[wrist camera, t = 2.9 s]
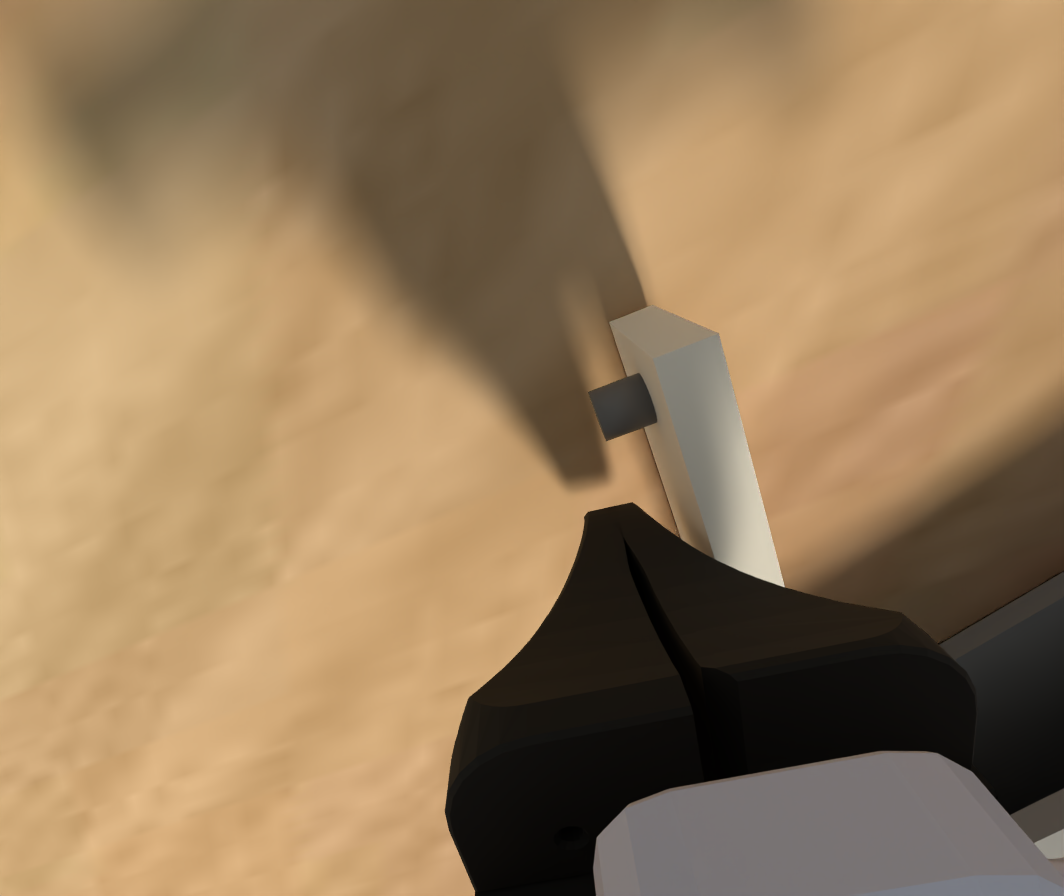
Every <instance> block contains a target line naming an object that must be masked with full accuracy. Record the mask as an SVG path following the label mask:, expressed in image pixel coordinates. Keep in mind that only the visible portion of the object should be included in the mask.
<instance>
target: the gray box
mask: <svg viewBox="0 0 1064 896" xmlns="http://www.w3.org/2000/svg"><path fill="white" fill-rule="evenodd" d="M940 646H941V647H942V648H943V649H944V650H945V651H946V652H947V653H948V654H949V655H950V656H951V657H952V658H953V659H954V660H955V661H956V662H957V663H958V664H959V665H960V666H961V667H962V668H963V669H964V670H966V671H967V673H968V675H969V677H970V679H971V681H972V683H973V685H974V686H975V688H976V694H977V706H978V712H977V722H976V733H975V743H974V753H973V763H972V764H973V765H974V766H975V767H976V769H977V770H978V771H979V772H980V773H981V774H982V775H983V777H984V778H985V779H986V780H987V781H988V782H989V783H990V785H991V786H992V787H993V788H994V790H995V792H996V794H997V796H998V798H997V801H998V802H999V803H1000V805H1001V806H1002V807H1003V808H1004V809H1005V810H1006V812H1007V813H1008V814H1009V815H1010V816H1011V817H1012V819H1013V820H1014V821H1015V822H1016V823H1017V824H1018V826H1019V827H1020V828H1021V829H1022V830H1023V831H1024V832H1025V834H1026V835H1027V836H1028V837H1029V838H1030V839H1031V841H1032V842H1033V843H1034V844H1035V845H1036V846H1037V848H1038V849H1039V850H1040V851H1041V852H1042V853H1043V855H1044V856H1045V857H1046V858H1047V859H1056V858H1063V857H1064V572H1062V573H1061V574H1059V575H1057V576H1056V577H1054V578H1052V579H1050V580H1049V581H1047V582H1045V583H1044V584H1042V585H1040V586H1038V587H1037V588H1035V589H1033V590H1032V591H1030V592H1028V593H1027V594H1025V595H1023V596H1021V597H1020V598H1018V599H1016V600H1015V601H1013V602H1011V603H1010V604H1008V605H1006V606H1004V607H1003V608H1001V609H999V610H998V611H996V612H994V613H992V614H991V615H989V616H987V617H986V618H984V619H982V620H981V621H979V622H977V623H975V624H974V625H972V626H970V627H969V628H967V629H965V630H963V631H962V632H960V633H958V634H957V635H955V636H953V637H952V638H950V639H948V640H946V641H945V642H943V643H941V644H940Z"/></svg>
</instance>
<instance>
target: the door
mask: <svg viewBox="0 0 1064 896" xmlns="http://www.w3.org/2000/svg"><path fill="white" fill-rule="evenodd" d="M609 324H610V327H611V330H612V333H613V336H614V339H615V342H616V345H617V348H618V351H619V354H620V357H621V360H622V363H623V366H624V369H625V372H626V375H627V377H626V378H623V379H621V380H618V381H616V382H613V383H610V384H608V385H605V386H602V387H600V388H597V389H595V390H592V391H589V392H588V394H589V397H590V400H591V402H592V405H593V408H594V411H595V414H596V416H597V419H598V422H599V424H600V427H601V429H602V432H603V434H604V437H605V439H606V441H608V440H611V439H614V438H616V437H619V436H622V435H625V434H627V433H630V432H633V431H635V430H638V429H641V428H644V429H645V432H646V435H647V438H648V441H649V444H650V447H651V450H652V453H653V456H654V459H655V462H656V465H657V468H658V471H659V474H660V477H661V480H662V483H663V486H664V489H665V492H666V495H667V498H668V501H669V504H670V507H671V510H672V513H673V516H674V519H675V522H676V525H677V528H678V531H679V534H680V537H681V539H682V540H683V541H685V542H686V543H688V544H689V545H691V546H692V547H694V548H696V549H697V550H699V551H701V552H703V553H704V554H706V555H708V556H710V557H712V558H714V559H716V560H717V561H720V562H722V563H724V564H726V565H728V566H730V567H733V568H735V569H737V570H739V571H741V572H744V573H746V574H749V575H751V576H754V577H756V578H759V579H762V580H765V581H768V582H771V583H773V584H776V585H779V586H782V587H785V586H784V582H783V578H782V575H781V571H780V567H779V563H778V559H777V555H776V551H775V548H774V544H773V540H772V536H771V532H770V528H769V525H768V521H767V517H766V513H765V509H764V505H763V502H762V498H761V494H760V490H759V486H758V482H757V479H756V475H755V471H754V467H753V463H752V459H751V455H750V452H749V448H748V444H747V440H746V436H745V432H744V429H743V425H742V421H741V417H740V413H739V409H738V406H737V402H736V398H735V394H734V390H733V386H732V383H731V379H730V375H729V371H728V367H727V363H726V359H725V356H724V352H723V348H722V344H721V340H720V336H719V333H716V332H714V331H712V330H710V329H707V328H705V327H703V326H700V325H698V324H696V323H693V322H691V321H689V320H686V319H684V318H682V317H679V316H677V315H675V314H673V313H670V312H668V311H666V310H663V309H661V308H659V307H656V306H654V305H651V306H648V307H646V308H643V309H641V310H638V311H636V312H633V313H631V314H628V315H626V316H623V317H621V318H618V319H615V320H613V321H610V322H609Z"/></svg>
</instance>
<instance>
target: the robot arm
mask: <svg viewBox="0 0 1064 896" xmlns="http://www.w3.org/2000/svg"><path fill="white" fill-rule="evenodd" d="M584 520H585V522H584V530H583V535H582V539H581V543H580V546H579V550H578V553H577V556H576V559H575V562H574V564H573V567H572V569H571V572H570V574H569V576H568V579H567V581H566V583H565V585H564V587H563V589H562V591H561V593H560V595H559V597H558V599H557V601H556V602H555V604H554V606H553V608H552V609H551V611H550V613H549V614H548V615H547V617H546V618H545V620H544V621H543V623H542V624H541V626H540V627H539V629H538V630H537V631H536V633H535V634H534V635H533V637H532V638H531V639H530V641H529V642H528V643H527V644H526V645H525V646H524V647H523V649H522V650H521V651H520V652H519V653H518V654H517V655H516V656H515V657H514V658H513V659H512V660H511V661H510V662H509V663H508V664H507V665H506V666H505V667H504V668H503V669H502V670H501V671H500V672H499V673H497V674H496V675H495V676H494V677H493V678H492V679H490V680H489V681H488V682H487V683H486V684H485V685H484V686H482V687H481V688H480V689H479V690H478V691H477V692H475V693H474V694H473V695H471V696H470V697H469V699H468V701H467V704H466V707H465V710H464V713H463V716H462V720H461V723H460V726H459V730H458V734H457V738H456V741H455V745H454V749H453V754H452V759H451V766H450V774H449V782H448V790H447V798H446V807H445V815H446V819H447V823H448V828H449V831H450V834H451V836H452V838H453V841H454V843H455V845H456V848H457V850H458V852H459V855H460V857H461V859H462V862H463V864H464V866H465V869H466V871H467V873H468V876H469V878H470V880H471V883H472V885H473V887H474V890H475V896H1064V857H1063V858H1056V859H1047V858H1046V857H1045V856H1044V855H1043V853H1042V852H1041V851H1040V850H1039V849H1038V848H1037V846H1036V845H1035V844H1034V843H1033V842H1032V841H1031V839H1030V838H1029V837H1028V836H1027V835H1026V834H1025V832H1024V831H1023V830H1022V829H1021V828H1020V827H1019V826H1018V824H1017V823H1016V822H1015V821H1014V820H1013V819H1012V817H1011V816H1010V815H1009V814H1008V813H1007V812H1006V810H1005V809H1004V808H1003V807H1002V806H1001V805H1000V803H999V802H998V801H997V798H998V796H997V794H996V792H995V790H994V788H993V787H992V786H991V785H990V783H989V782H988V781H987V780H986V779H985V778H984V777H983V775H982V774H981V773H980V772H979V771H978V770H977V769H976V767H975V766H974V765H973V764H972V763H973V753H974V743H975V733H976V722H977V712H978V706H977V694H976V688H975V686H974V685H973V683H972V681H971V679H970V677H969V675H968V673H967V671H966V670H964V669H963V668H962V667H961V666H960V665H959V664H958V663H957V662H956V661H955V660H954V659H953V658H952V657H951V656H950V655H949V654H948V653H947V652H946V651H945V650H944V649H943V648H942V647H941V646H940V645H939V644H937V643H936V642H935V641H934V640H933V639H932V638H931V637H930V636H929V635H928V634H927V633H925V632H924V631H923V630H922V629H921V628H919V627H918V626H917V625H916V624H914V623H913V622H912V621H911V620H910V619H908V618H907V617H906V616H905V615H904V614H902V613H900V612H895V611H889V610H883V609H877V608H872V607H866V606H860V605H854V604H848V603H843V602H838V601H834V600H830V599H826V598H822V597H818V596H814V595H810V594H806V593H802V592H799V591H795V590H792V589H789V588H785V587H782V586H779V585H776V584H773V583H771V582H768V581H765V580H762V579H759V578H756V577H754V576H751V575H749V574H746V573H744V572H741V571H739V570H737V569H735V568H733V567H730V566H728V565H726V564H724V563H722V562H720V561H717V560H716V559H714V558H712V557H710V556H708V555H706V554H704V553H703V552H701V551H699V550H697V549H696V548H694V547H692V546H691V545H689V544H688V543H686V542H685V541H683V540H682V539H680V538H679V537H677V536H676V535H674V534H673V533H671V532H670V531H669V530H667V529H666V528H665V527H663V526H662V525H661V524H659V523H658V522H657V521H655V520H654V519H653V518H652V517H650V516H649V515H648V514H647V513H645V512H644V511H643V510H642V509H641V508H640V507H638V506H637V505H636V504H634V503H633V502H632V503H627V504H622V505H618V506H613V507H608V508H604V509H599V510H594V511H590V512H588V513H587V514H586V515H585V517H584Z"/></svg>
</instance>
